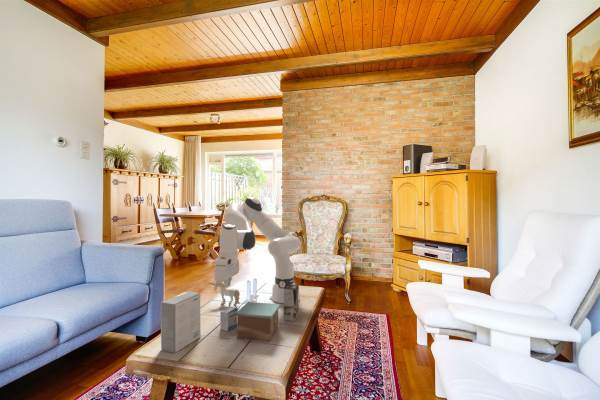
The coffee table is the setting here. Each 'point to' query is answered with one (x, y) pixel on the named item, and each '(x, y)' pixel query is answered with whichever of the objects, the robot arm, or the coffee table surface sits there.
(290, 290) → the coffee box
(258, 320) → the walnut box
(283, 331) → the coffee table surface
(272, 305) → the lid
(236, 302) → the unicorn figurine
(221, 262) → the robot arm
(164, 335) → the hard drive box
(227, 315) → the medicine box
